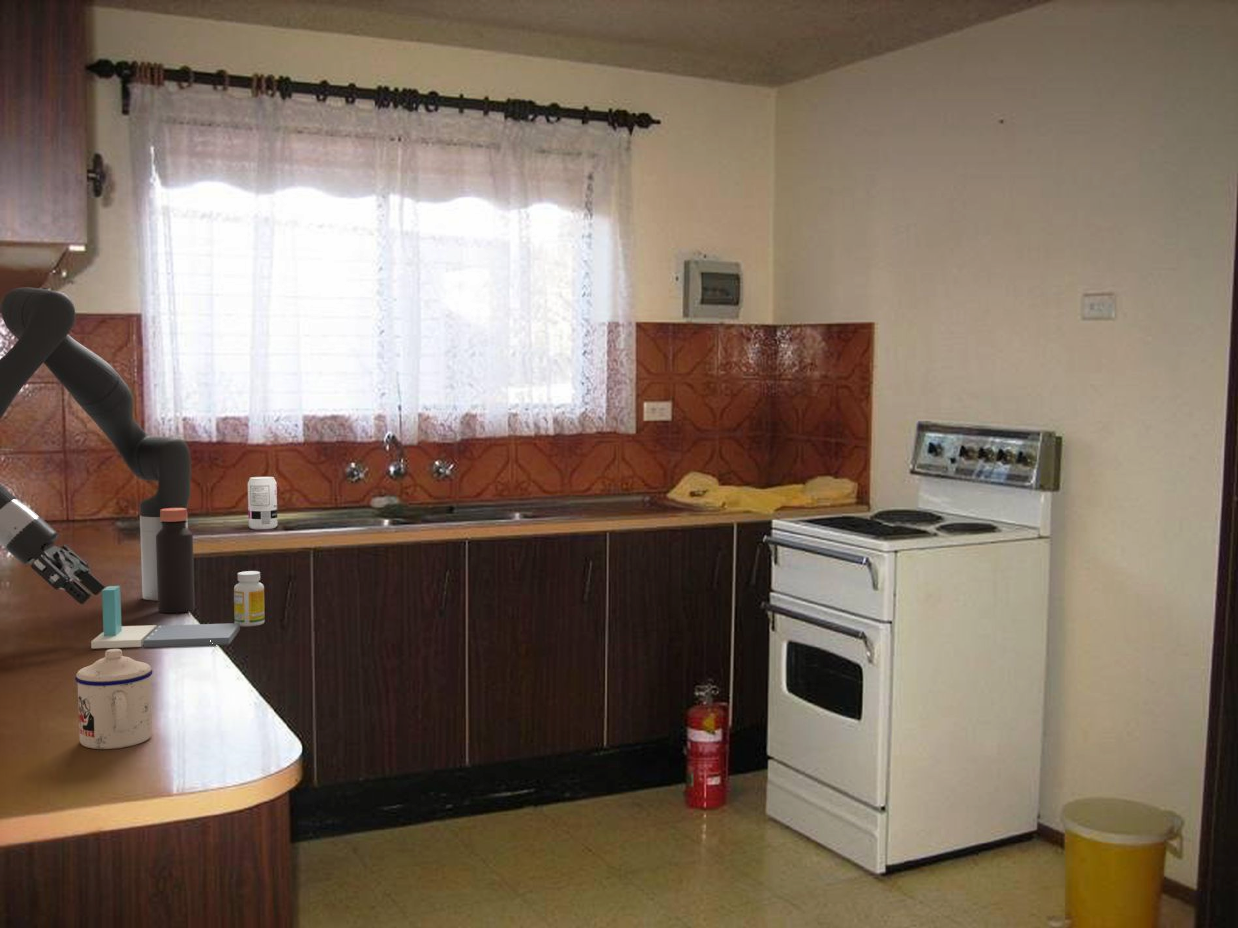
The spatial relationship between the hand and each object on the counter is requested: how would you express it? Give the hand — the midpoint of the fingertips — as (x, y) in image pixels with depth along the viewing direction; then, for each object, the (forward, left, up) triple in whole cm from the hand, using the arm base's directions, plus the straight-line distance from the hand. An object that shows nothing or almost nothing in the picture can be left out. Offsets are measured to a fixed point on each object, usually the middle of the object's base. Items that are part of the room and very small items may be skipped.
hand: (94, 595), depth 212 cm
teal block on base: (0, +5, -8) cm, 9 cm away
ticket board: (0, +16, -8) cm, 18 cm away
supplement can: (-151, +8, -8) cm, 151 cm away
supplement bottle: (-11, +24, -8) cm, 28 cm away
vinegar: (-26, +8, -8) cm, 28 cm away
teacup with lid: (+61, +18, -8) cm, 64 cm away
